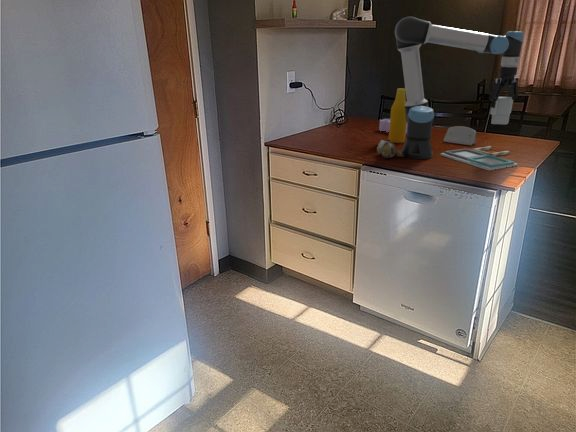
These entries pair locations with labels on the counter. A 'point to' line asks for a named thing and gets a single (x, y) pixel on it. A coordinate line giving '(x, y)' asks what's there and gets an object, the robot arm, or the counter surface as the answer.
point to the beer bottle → (398, 118)
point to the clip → (386, 125)
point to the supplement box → (502, 111)
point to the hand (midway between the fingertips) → (500, 113)
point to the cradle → (490, 149)
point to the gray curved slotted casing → (460, 135)
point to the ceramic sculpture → (388, 149)
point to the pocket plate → (478, 159)
